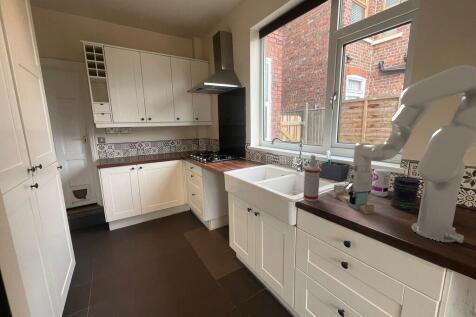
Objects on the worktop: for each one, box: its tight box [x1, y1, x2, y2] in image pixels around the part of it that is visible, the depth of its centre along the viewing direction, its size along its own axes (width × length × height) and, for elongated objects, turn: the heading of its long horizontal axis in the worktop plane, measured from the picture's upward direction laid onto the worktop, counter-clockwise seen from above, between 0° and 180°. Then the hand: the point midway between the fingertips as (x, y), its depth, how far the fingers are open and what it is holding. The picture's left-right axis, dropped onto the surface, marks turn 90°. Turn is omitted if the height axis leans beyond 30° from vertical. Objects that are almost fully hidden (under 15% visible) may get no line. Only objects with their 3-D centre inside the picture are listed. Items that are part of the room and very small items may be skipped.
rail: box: [332, 183, 375, 215], centre depth 107 cm, size 23×4×8 cm, turn 13°
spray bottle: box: [302, 154, 321, 202], centre depth 114 cm, size 8×8×25 cm
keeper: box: [348, 191, 369, 211], centre depth 103 cm, size 5×6×8 cm
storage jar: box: [390, 175, 420, 213], centre depth 103 cm, size 10×10×15 cm
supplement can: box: [370, 168, 391, 197], centre depth 121 cm, size 8×8×15 cm
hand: (357, 202), depth 104 cm, fingers closed on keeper, 6 cm apart
